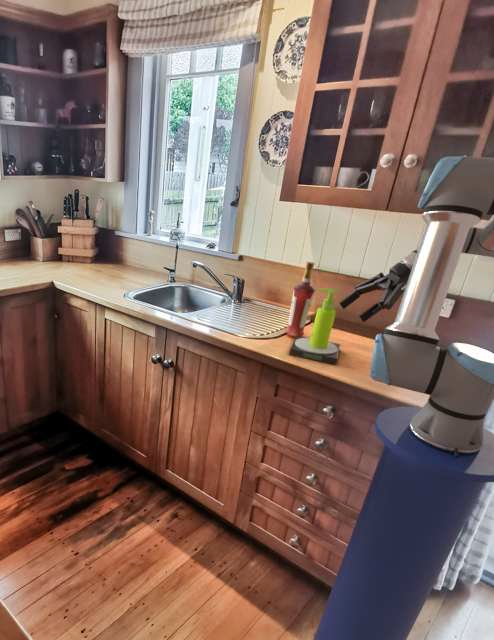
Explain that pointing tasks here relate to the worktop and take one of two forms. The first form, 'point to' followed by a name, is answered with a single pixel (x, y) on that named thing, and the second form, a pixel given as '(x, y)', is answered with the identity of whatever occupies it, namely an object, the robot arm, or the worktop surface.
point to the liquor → (301, 304)
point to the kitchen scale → (314, 351)
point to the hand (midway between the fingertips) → (350, 312)
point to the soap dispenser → (323, 322)
